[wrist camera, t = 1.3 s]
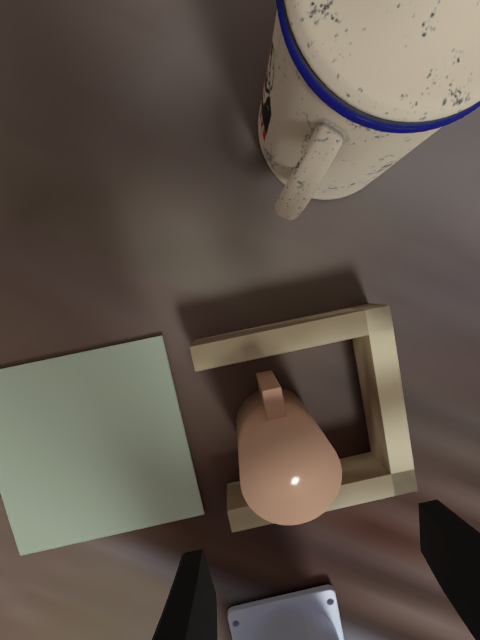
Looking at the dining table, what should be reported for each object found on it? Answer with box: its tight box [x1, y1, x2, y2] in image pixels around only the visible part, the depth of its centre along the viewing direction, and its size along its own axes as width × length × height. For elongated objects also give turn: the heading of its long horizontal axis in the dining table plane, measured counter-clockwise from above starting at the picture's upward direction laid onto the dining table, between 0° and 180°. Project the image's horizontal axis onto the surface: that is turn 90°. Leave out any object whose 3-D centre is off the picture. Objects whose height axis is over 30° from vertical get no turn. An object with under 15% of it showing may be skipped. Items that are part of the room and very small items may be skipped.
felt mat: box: [0, 335, 204, 556], centre depth 19 cm, size 13×13×1 cm
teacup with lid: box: [258, 0, 480, 220], centre depth 12 cm, size 12×9×12 cm
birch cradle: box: [190, 303, 418, 533], centre depth 18 cm, size 12×12×2 cm
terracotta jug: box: [236, 370, 342, 525], centre depth 17 cm, size 7×5×6 cm
